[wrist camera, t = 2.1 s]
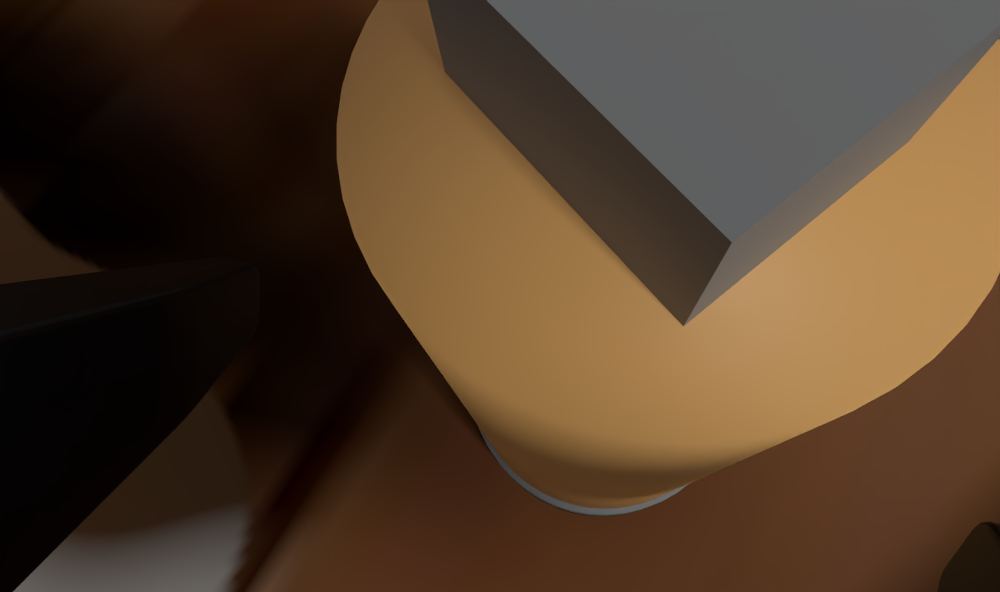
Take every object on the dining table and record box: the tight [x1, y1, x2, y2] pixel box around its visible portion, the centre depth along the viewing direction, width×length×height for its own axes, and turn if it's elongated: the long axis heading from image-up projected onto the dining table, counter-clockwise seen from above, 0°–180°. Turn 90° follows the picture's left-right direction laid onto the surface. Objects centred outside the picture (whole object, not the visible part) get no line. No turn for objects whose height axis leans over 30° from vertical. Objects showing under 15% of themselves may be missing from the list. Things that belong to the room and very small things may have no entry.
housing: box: [337, 0, 1000, 516], centre depth 11 cm, size 6×6×15 cm
